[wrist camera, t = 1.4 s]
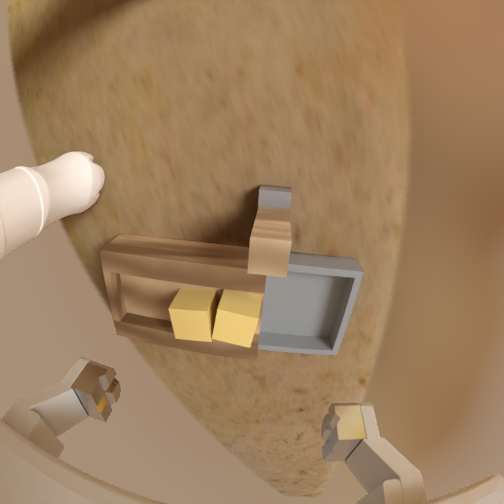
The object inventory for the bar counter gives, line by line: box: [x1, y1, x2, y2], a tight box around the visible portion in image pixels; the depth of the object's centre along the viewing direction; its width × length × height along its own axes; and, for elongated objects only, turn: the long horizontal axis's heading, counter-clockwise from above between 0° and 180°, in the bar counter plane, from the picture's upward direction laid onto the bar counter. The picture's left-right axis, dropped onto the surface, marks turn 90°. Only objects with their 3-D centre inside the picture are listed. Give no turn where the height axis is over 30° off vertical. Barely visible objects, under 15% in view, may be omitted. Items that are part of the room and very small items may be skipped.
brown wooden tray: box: [99, 234, 266, 360], centre depth 31 cm, size 12×18×5 cm, turn 85°
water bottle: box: [0, 152, 105, 261], centre depth 18 cm, size 7×7×25 cm
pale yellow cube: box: [212, 289, 262, 348], centre depth 29 cm, size 4×4×4 cm
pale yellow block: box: [169, 288, 218, 342], centre depth 29 cm, size 4×4×4 cm
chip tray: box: [258, 252, 364, 355], centre depth 32 cm, size 12×10×3 cm
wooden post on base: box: [247, 184, 292, 277], centre depth 24 cm, size 6×3×10 cm, turn 175°
